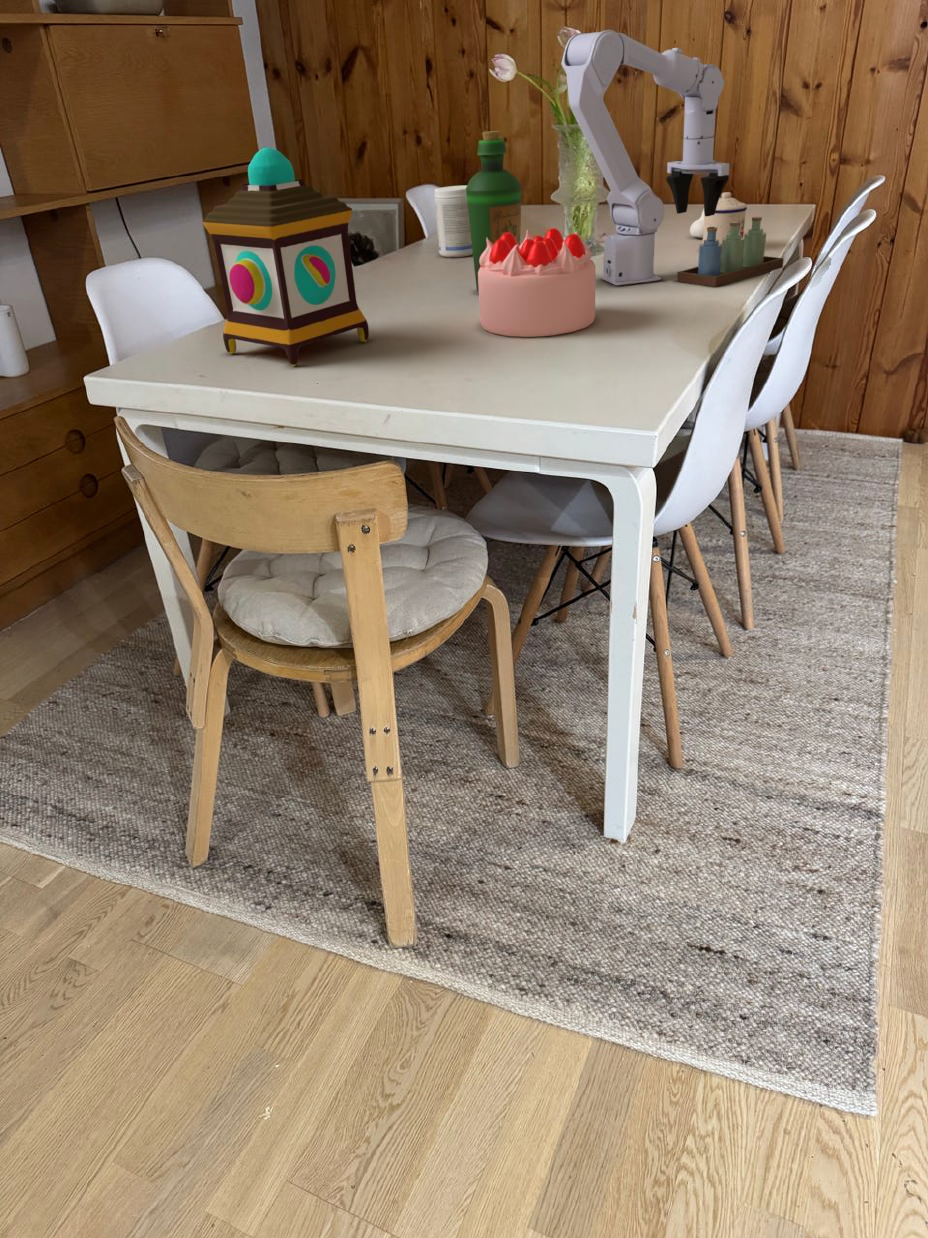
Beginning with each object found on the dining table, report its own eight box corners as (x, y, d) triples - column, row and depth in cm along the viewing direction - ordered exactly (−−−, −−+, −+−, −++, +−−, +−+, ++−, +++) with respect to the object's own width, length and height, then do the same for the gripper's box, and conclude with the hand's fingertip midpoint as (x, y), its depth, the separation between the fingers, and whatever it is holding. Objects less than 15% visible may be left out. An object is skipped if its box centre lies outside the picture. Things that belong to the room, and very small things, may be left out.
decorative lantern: (303, 327, 163) (274, 141, 148) (382, 340, 152) (360, 139, 137) (214, 355, 151) (172, 154, 135) (292, 371, 139) (257, 153, 124)
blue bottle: (710, 280, 172) (714, 229, 168) (692, 278, 175) (696, 228, 170) (724, 276, 174) (728, 226, 170) (706, 274, 177) (710, 225, 173)
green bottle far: (754, 268, 180) (759, 219, 175) (737, 265, 182) (741, 217, 178) (767, 264, 182) (772, 216, 177) (749, 262, 185) (754, 214, 180)
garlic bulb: (684, 237, 218) (686, 201, 213) (705, 234, 220) (707, 198, 215) (700, 240, 213) (702, 203, 208) (722, 237, 215) (724, 200, 210)
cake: (464, 320, 160) (458, 234, 153) (565, 304, 166) (565, 220, 158) (507, 344, 145) (503, 250, 137) (618, 326, 150) (620, 234, 143)
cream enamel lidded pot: (737, 254, 196) (742, 195, 190) (696, 253, 200) (699, 195, 194) (750, 244, 205) (756, 187, 199) (710, 243, 209) (714, 188, 202)
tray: (715, 286, 170) (716, 276, 169) (676, 281, 176) (677, 271, 175) (782, 267, 181) (783, 257, 180) (744, 262, 187) (744, 253, 186)
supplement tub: (486, 252, 217) (483, 185, 210) (458, 259, 212) (453, 190, 204) (459, 249, 224) (455, 184, 216) (430, 256, 218) (425, 189, 211)
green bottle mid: (733, 274, 176) (737, 224, 171) (715, 271, 179) (719, 222, 174) (746, 270, 178) (750, 221, 173) (728, 268, 181) (732, 219, 176)
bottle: (520, 296, 174) (515, 131, 160) (466, 297, 176) (456, 135, 162) (528, 284, 183) (524, 127, 168) (476, 285, 185) (468, 131, 171)
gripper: (742, 135, 169) (737, 213, 177) (686, 134, 180) (683, 208, 187) (715, 139, 166) (711, 219, 174) (660, 138, 177) (658, 213, 184)
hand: (695, 213), depth 180 cm, fingers open, 7 cm apart
